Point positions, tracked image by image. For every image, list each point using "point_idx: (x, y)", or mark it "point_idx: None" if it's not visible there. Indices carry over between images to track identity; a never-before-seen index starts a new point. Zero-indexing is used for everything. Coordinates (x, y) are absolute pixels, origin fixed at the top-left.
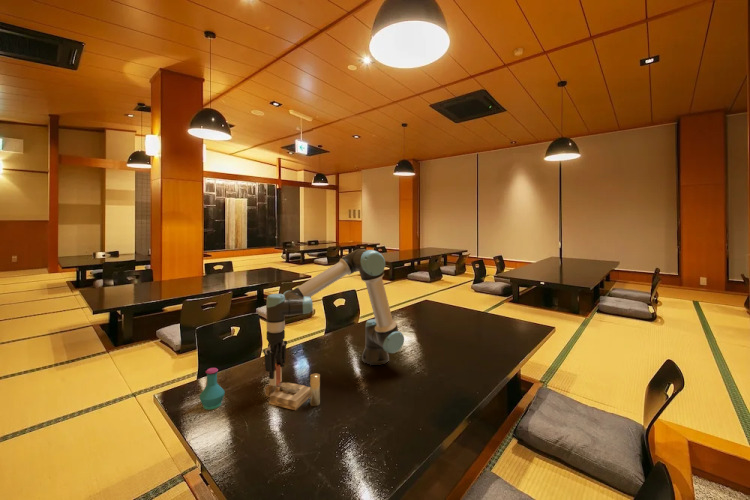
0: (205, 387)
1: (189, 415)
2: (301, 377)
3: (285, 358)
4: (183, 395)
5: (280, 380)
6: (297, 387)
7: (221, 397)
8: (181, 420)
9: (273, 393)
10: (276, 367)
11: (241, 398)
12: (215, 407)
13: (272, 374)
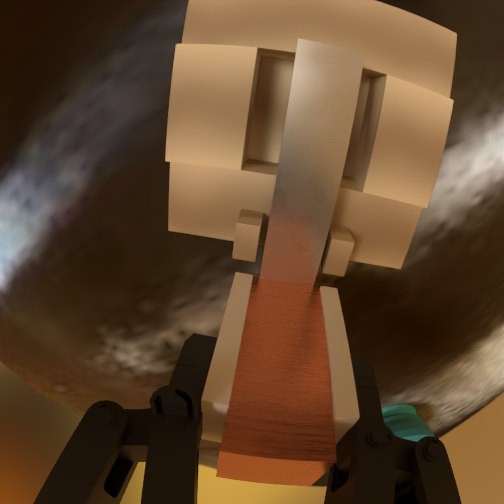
0: None
1: (437, 424)
2: (37, 200)
3: (65, 448)
4: None
5: (250, 286)
6: (312, 50)
7: (412, 429)
8: (456, 421)
9: (377, 256)
10: (319, 454)
11: None
12: (411, 407)
13: (371, 399)
